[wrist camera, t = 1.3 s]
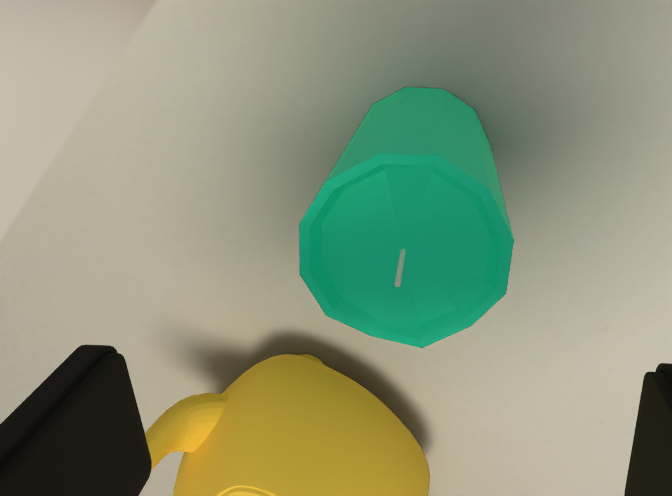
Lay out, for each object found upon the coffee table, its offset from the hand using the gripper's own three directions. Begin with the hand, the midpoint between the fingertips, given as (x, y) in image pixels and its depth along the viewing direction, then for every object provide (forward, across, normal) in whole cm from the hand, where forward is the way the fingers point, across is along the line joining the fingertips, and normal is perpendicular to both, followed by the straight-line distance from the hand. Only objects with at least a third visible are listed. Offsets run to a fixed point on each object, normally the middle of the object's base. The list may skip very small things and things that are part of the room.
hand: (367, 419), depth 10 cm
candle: (+17, 0, 0) cm, 17 cm away
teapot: (+17, +6, +15) cm, 23 cm away
